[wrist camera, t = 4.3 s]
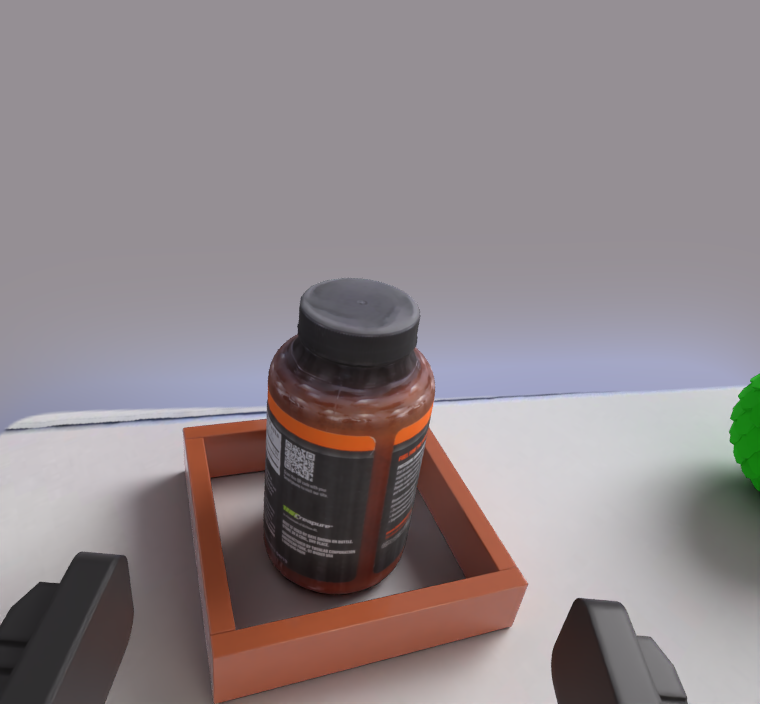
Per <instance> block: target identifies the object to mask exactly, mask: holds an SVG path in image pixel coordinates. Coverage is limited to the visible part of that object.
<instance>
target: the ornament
mask: <svg viewBox="0 0 760 704" xmlns="http://www.w3.org/2000/svg"><path fill="white" fill-rule="evenodd" d="M750 382H751V384H749V385H748V386H747V387H745V388H744V390H742V392H741V393H740V394H739V395H738V397H739V399H740V401H739V402H738V403H737V404H736V405H735V406H734V408H733V412H732V415H731V417H730V419H731V420H733V421H734V422H733V424H732V426H731V428H730V431H729V433H730V442H731V443H732V444H734V450H733V453H734V457H735V459H736V462H737V463H739V464H741V468H742V472H743V473H744V475H745V477H746V478H750V480H751V482H752V483H753V485H754V487H755V489H757V490H758V491H759V492H760V374H758V375H757V376H755V377H753V378H752V379H751V380H750Z"/></svg>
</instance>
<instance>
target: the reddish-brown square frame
mask: <svg viewBox="0 0 760 704" xmlns="http://www.w3.org/2000/svg"><path fill="white" fill-rule="evenodd" d="M266 425H267V419H261V420H251V421H242V422H233V423H224V424H214V425H205V426H196V427H186V428H183V444H184V466H185V476H186V484H187V493H188V501H189V509H190V517H191V525H192V533H193V541H194V550H195V558H196V566H197V574H198V582H199V590H200V598H201V606H202V615H203V623H204V631H205V639H206V647H207V655H208V663H209V672H210V679H211V688H212V696H213V703H214V704H217V703H221V702H225V701H228V700H232V699H236V698H240V697H244V696H248V695H251V694H255V693H259V692H263V691H267V690H270V689H274V688H278V687H282V686H286V685H290V684H293V683H297V682H301V681H305V680H309V679H312V678H316V677H320V676H324V675H328V674H331V673H335V672H339V671H343V670H347V669H351V668H354V667H358V666H362V665H366V664H370V663H373V662H377V661H381V660H385V659H389V658H393V657H396V656H400V655H404V654H408V653H412V652H415V651H419V650H423V649H427V648H431V647H434V646H438V645H442V644H446V643H450V642H454V641H457V640H461V639H465V638H469V637H473V636H476V635H480V634H484V633H488V632H492V631H496V630H499V629H503V628H507V627H511V626H512V625H513V622H514V620H515V617H516V614H517V612H518V609H519V607H520V604H521V602H522V599H523V596H524V594H525V591H526V589H527V586H528V583H527V581H526V580H525V578H524V576H523V575H522V573H521V572H520V570H519V569H518V567H517V566H516V564H515V562H514V561H513V559H512V558H511V556H510V555H509V553H508V551H507V550H506V548H505V547H504V545H503V544H502V542H501V540H500V539H499V537H498V536H497V534H496V532H495V531H494V529H493V528H492V526H491V525H490V523H489V521H488V520H487V518H486V517H485V515H484V513H483V512H482V510H481V509H480V507H479V506H478V504H477V502H476V501H475V499H474V498H473V496H472V495H471V493H470V491H469V490H468V488H467V487H466V485H465V483H464V482H463V480H462V479H461V477H460V476H459V474H458V472H457V471H456V469H455V468H454V466H453V464H452V463H451V461H450V460H449V458H448V457H447V455H446V453H445V452H444V450H443V449H442V447H441V445H440V444H439V442H438V441H437V439H436V438H435V436H434V434H433V433H432V431H431V430H430V428H428V433H427V438H426V443H425V448H424V453H423V458H422V463H421V468H420V473H419V479H418V484H417V488H418V490H419V492H420V494H421V496H422V498H423V499H424V501H425V503H426V505H427V507H428V509H429V511H430V512H431V514H432V516H433V518H434V520H435V522H436V523H437V525H438V527H439V529H440V531H441V533H442V535H443V536H444V538H445V540H446V542H447V544H448V546H449V548H450V549H451V551H452V553H453V555H454V557H455V559H456V560H457V562H458V564H459V566H460V568H461V570H462V572H463V573H464V575H465V577H466V579H462V580H458V581H453V582H449V583H444V584H440V585H435V586H431V587H426V588H422V589H417V590H413V591H409V592H404V593H400V594H395V595H391V596H386V597H382V598H377V599H373V600H368V601H364V602H359V603H355V604H350V605H346V606H342V607H337V608H333V609H328V610H324V611H319V612H315V613H310V614H306V615H301V616H297V617H292V618H288V619H283V620H279V621H275V622H270V623H266V624H261V625H257V626H252V627H248V628H243V629H239V630H236V628H235V622H234V616H233V610H232V604H231V598H230V592H229V586H228V581H227V575H226V569H225V563H224V557H223V551H222V545H221V539H220V533H219V527H218V521H217V515H216V509H215V503H214V497H213V491H212V485H211V480H210V478H212V477H220V476H227V475H234V474H242V473H249V472H256V471H264V470H265V459H266Z"/></svg>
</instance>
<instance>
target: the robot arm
mask: <svg viewBox="0 0 760 704" xmlns="http://www.w3.org/2000/svg"><path fill="white" fill-rule="evenodd" d="M133 616H134V608H133V600H132V592H131V584H130V576H129V568H128V561H127V558H126V556H124V555H114V554H103V553H92V552H80V553H78V554H77V555H76V556H75V557H74V559H73V560H72V562H71V564H70V565H69V567H68V569H67V571H66V573H65V575H64V576H63V578H62V580H61V582H60V584H59V583H47V582H39V583H38V584H37V585H36V586H35V587H34V588H32V589H31V590H30V591H29V592H28V593H27V594H26V595H25V596H24V597H22V598H21V599H20V600H19V601H18V602H17V603H16V604H15V605H13V606H12V607H11V609H10V610H9V612H8V614H7V615H6V617H5V619H4V620H3V622H2V624H1V625H0V704H105V701H106V699H107V696H108V694H109V691H110V689H111V686H112V684H113V681H114V678H115V676H116V673H117V671H118V668H119V666H120V663H121V660H122V658H123V655H124V653H125V650H126V647H127V645H128V641H129V638H130V634H131V630H132V624H133ZM551 671H552V680H553V685H554V690H555V694H556V698H557V702H558V704H688V703H687V696H686V693H685V691H684V689H683V686H682V684H681V682H680V679H679V677H678V675H677V672H676V670H675V667H674V665H673V664H672V663H671V662H670V660H669V659H668V658H667V657H666V655H665V654H664V653H663V652H662V650H661V649H660V648H659V647H658V645H657V644H656V643H655V642H654V640H653V639H652V638H651V637H647V636H636V634H635V631H634V628H633V626H632V623H631V621H630V618H629V615H628V613H627V611H626V609H625V607H624V606H623V605H622V604H621V603H620V602H617V601H606V600H595V599H584V598H577V599H576V600H575V601H574V602H573V604H572V607H571V609H570V611H569V613H568V616H567V618H566V620H565V622H564V625H563V627H562V629H561V631H560V634H559V636H558V638H557V640H556V643H555V645H554V648H553V652H552V660H551Z"/></svg>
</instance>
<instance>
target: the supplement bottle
mask: <svg viewBox="0 0 760 704" xmlns="http://www.w3.org/2000/svg"><path fill="white" fill-rule="evenodd" d="M419 320H420V310H419V307H418V305H417V303H416V302H415V301H414V300H413V299H412V297H410V296H409V295H408V294H407V293H405V292H404V291H402V290H400V289H398V288H396V287H394V286H391V285H388V284H385V283H382V282H378V281H373V280H368V279H358V278H341V279H333V280H327V281H323V282H320V283H318V284H315V285H313V286H311V287H310V288H309V289H308V290H307V291H306V292H305V293H304V294H303V296H302V297H301V301H300V308H299V324H298V326H297V327H298V334H297V335H295V336H293V337H292V338H290V339H289V340H288V341H287V342H286V343H284V344H283V345H282V346H281V347H280V349H278V351H277V353H276V354H275V355H274V358H273V360H272V362H271V365H270V369H269V376H268V400H267V425H266V459H265V491H264V543H265V547H266V550H267V553H268V556H269V558H270V560H271V561H272V563H273V565H274V566H275V567H276V568H277V569H278V570H279V571H280V572H281V573H282V574H283V575H284V576H285V577H286V578H288V579H289V580H290V581H292V582H294V583H296V584H297V585H299V586H301V587H304V588H306V589H309V590H313V591H315V592H319V593H327V594H345V593H352V592H356V591H360V590H363V589H366V588H369V587H371V586H373V585H375V584H377V583H379V582H380V581H381V580H383V579H384V578H385V577H386V576H388V574H389V573H390V572H391V571H392V570H393V569H394V568H395V566H396V565H397V563H398V562H399V560H400V558H401V555H402V553H403V549H404V546H405V542H406V539H407V534H408V529H409V524H410V519H411V514H412V509H413V504H414V499H415V493H416V488H417V484H418V479H419V473H420V468H421V463H422V458H423V453H424V448H425V443H426V438H427V433H428V428H429V423H430V418H431V412H432V407H433V402H434V395H435V381H434V376H433V372H432V370H431V367H430V365H429V363H428V361H427V360H426V358H425V357H424V355H423V354H422V353H421V352H420V351H419V350H418V349H417V348H416V344H417V332H418V325H419Z"/></svg>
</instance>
